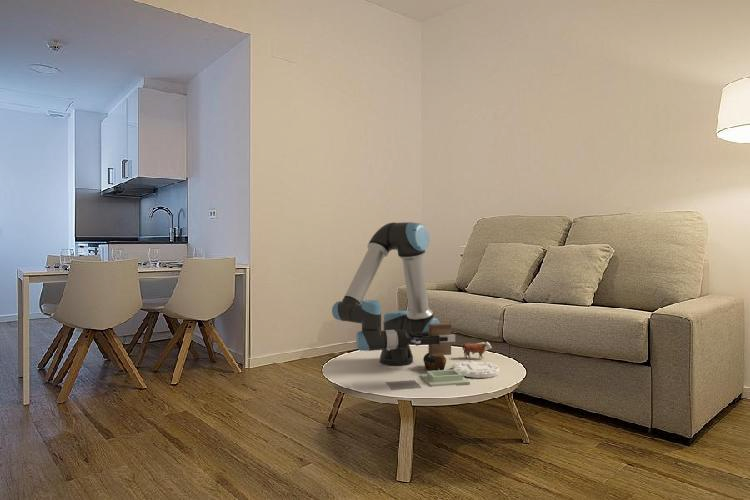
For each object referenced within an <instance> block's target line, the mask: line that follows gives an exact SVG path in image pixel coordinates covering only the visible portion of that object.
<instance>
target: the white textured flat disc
mask: <svg viewBox="0 0 750 500" xmlns="http://www.w3.org/2000/svg"><path fill="white" fill-rule="evenodd" d="M453 369H456V370H457V371H458V372H460V373H461V374H462V375H463V377H468V378H473V379H480V378H483V379H490V378H491V377H492V378H494V377H498V375H499V374H500V372H501V371H500V367H499V366H498V365H497V364H496V363H492V362H489V361H486V362H482V361H474V360H473V359H470V360H469V361H459V362H453V364H452V365H451V370H453Z"/></svg>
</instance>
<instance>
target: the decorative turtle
mask: <svg viewBox="0 0 750 500" xmlns="http://www.w3.org/2000/svg"><path fill="white" fill-rule="evenodd" d="M423 363H424V366H425V368H426V369H427V370H428V371H436V370H437V369H438V370H445V368H446V364H447V358H446V357H445V355H438V356H431V355H430V354H429V353H428V352H427V353H426V354H425V355H424V356H423Z"/></svg>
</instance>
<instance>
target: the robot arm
mask: <svg viewBox="0 0 750 500" xmlns="http://www.w3.org/2000/svg"><path fill="white" fill-rule="evenodd" d="M429 245H430V234H429V231H428V229H427V227H426V226H425V225H424V224H422V223H421V222H413V221H412V222H411V221H410V222H405V221H404V222H388V223H385V224H384V225H383V226H382V227H379V229H378V230H377V231H376V232H375V233H374V234H373V235H372V237H371V239H370V240H369V242H368V244H367V246H366V247H367V251H366V253H365V255H364V257H363V259H362V260H361V262H360V264H359V266H358V268H357V271H356V272H355V274H354V276H353V278H352V281H351V282H350V285H349V286H348V288H347V290H346V293H345V294H344V296H343V298H342V300H340V301H339V300H338V301H336V302H335V303H334V304H333V305H332V307H331V314H332V316H333V318H334V319H335V320H336V321H337V320H338V321H341V322H348V323H349V322H350V323H355V324H361V330H359V331H357V332H356V337H355V343H356V348H357V350H359V351H365V352H366V351H367V352H368V351H369V352H371V351H372V352H373V351H381V352H380V355H379V356H380V357H379V362H380V363H381V364H383V365H387V366H398V367H399V366H400V367H401V366H406V365H411V364H413V362H414V357H413V353H412V350H411V346H410V345H413V346H416V347H418V346H425V345H429V344H438V345H440V342H451V343H454V342H455V343H456V334H451V335H439V336H428V323H441V322H440V320H439V319H438V318H437V317H434V312H433V310H432V309H430V306H429V300H428V299H429V298H428V291H427V284H426V277H425V268H424V267H425V266H424V260H423V256H424V255H425V254H426V250H427V249H428V247H429ZM393 250H394V251H397V256H398V257H399V258H400V259H401V260H402V266H403V275H404V281H405V288H406V296H407V303H408V309H409V310H396V311H395V310H394V311H389V312H386V313H385V314H384V316H383V330H382V305H381V302H380V301H379V300H378V299H377V300H376V299H365V297H366V295H367V292H368V291H369V288H370V287H371V284H372V282H373V280H374V279H375V276H376V274H377V272H378V270H379V267H380V266H381V264H382V263H383V260H384V258H385V257H387V256H388V255H389V252H390V251H393Z"/></svg>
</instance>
